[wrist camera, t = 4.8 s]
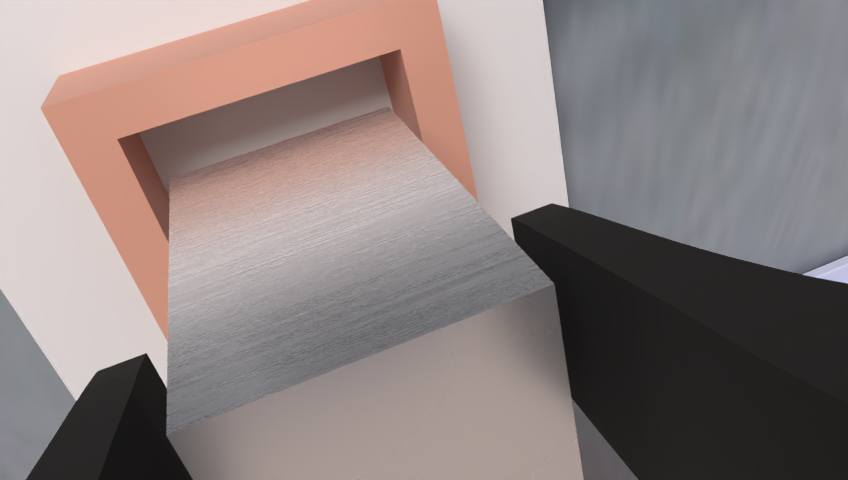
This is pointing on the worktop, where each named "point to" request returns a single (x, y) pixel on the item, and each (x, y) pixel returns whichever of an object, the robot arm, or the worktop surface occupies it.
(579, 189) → the worktop surface
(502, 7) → the stand base
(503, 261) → the column
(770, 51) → the worktop surface
